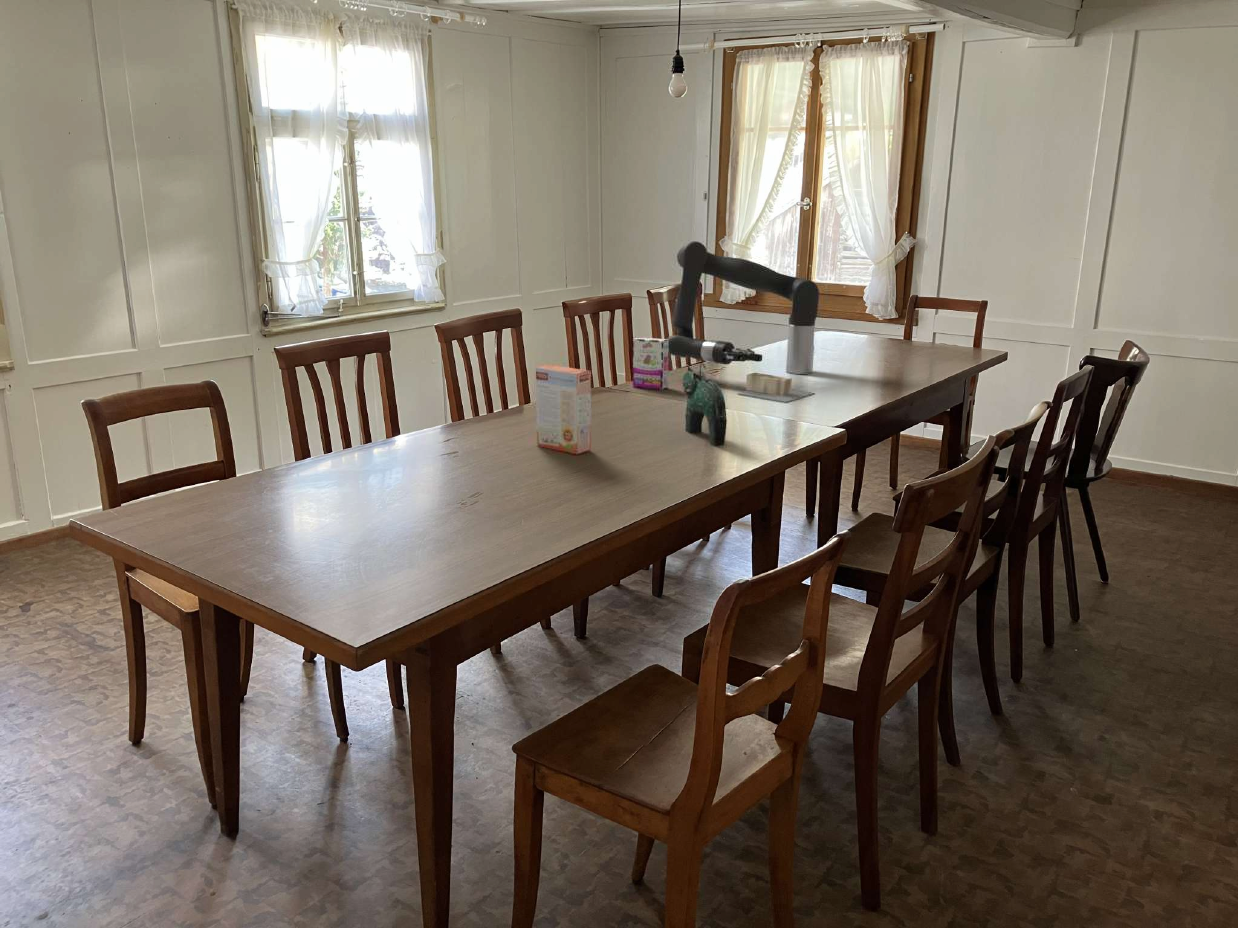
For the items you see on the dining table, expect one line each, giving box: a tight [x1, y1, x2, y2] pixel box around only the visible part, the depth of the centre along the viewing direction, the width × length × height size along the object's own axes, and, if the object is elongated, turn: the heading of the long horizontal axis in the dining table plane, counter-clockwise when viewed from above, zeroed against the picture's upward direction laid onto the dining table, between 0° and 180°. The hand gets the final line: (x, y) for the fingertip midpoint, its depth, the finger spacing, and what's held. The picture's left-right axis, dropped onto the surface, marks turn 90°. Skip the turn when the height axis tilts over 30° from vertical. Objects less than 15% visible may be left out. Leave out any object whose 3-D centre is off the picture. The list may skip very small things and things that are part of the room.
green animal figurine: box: [682, 362, 728, 447], centre depth 260 cm, size 20×6×20 cm, turn 21°
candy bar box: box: [632, 336, 670, 391], centre depth 322 cm, size 11×5×16 cm, turn 62°
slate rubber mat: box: [737, 388, 816, 404], centre depth 316 cm, size 18×18×1 cm
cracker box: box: [535, 364, 592, 455], centre depth 247 cm, size 14×6×21 cm, turn 51°
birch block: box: [745, 372, 793, 396], centre depth 317 cm, size 5×5×14 cm
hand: (761, 358), depth 317 cm, fingers closed
